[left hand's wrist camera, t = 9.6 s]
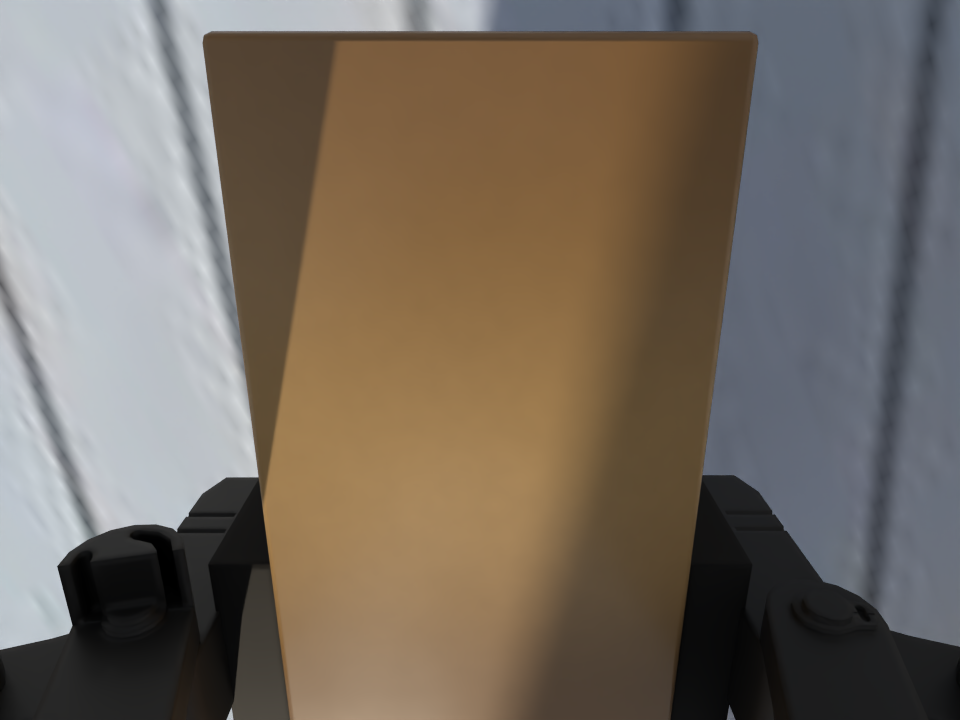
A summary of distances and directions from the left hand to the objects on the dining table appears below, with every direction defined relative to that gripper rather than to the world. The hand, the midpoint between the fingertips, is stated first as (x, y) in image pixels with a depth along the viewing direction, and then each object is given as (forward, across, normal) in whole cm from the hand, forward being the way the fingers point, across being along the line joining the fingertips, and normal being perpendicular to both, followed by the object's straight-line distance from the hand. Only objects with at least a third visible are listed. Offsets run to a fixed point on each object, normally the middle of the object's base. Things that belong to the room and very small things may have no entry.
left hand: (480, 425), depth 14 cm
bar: (+1, 0, -27) cm, 27 cm away
